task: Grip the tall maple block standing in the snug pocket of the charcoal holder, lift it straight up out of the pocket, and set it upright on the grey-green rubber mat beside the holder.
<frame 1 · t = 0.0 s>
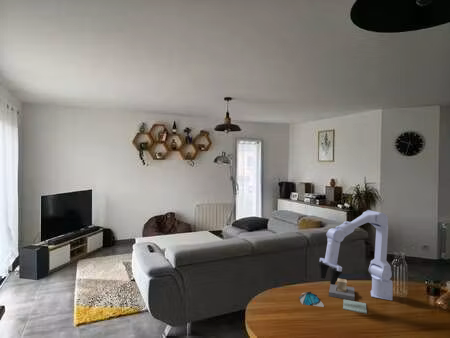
hand: (327, 281, 143), 11 cm above the table, tool pointing down, fingers open, 7 cm apart
decorative butterfly: (310, 303, 143), on the table
rubber mat: (354, 306, 139), on the table
pocket holder: (341, 293, 153), on the table
maple block: (341, 287, 153), in the pocket holder
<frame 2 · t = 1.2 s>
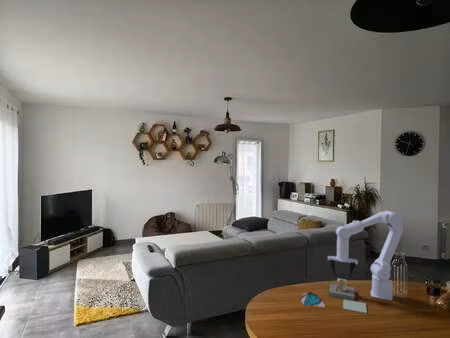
hand: (342, 275, 153), 9 cm above the table, tool pointing down, fingers open, 7 cm apart
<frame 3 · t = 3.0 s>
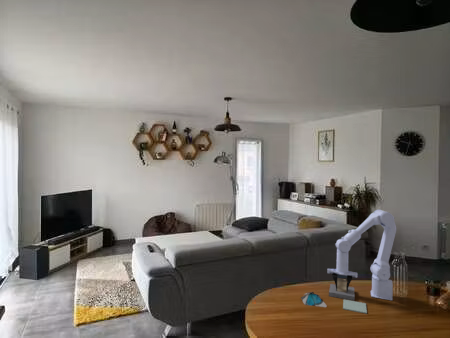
hand: (341, 288, 153), 3 cm above the table, tool pointing down, fingers closed on maple block, 4 cm apart
maple block: (341, 287, 153), in the pocket holder, touching gripper
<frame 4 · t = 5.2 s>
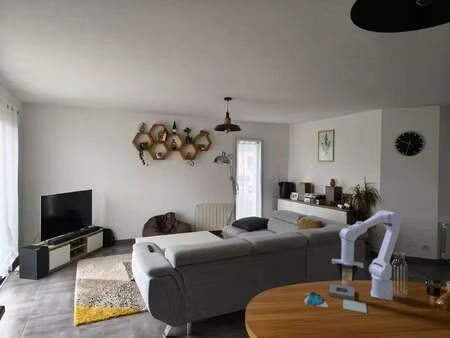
hand: (347, 279, 148), 10 cm above the table, tool pointing down, fingers closed on maple block, 4 cm apart
maple block: (347, 277, 148), point 10 cm above the table, touching gripper
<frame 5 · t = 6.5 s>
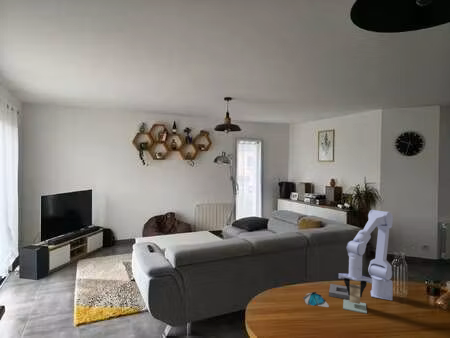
hand: (354, 295, 139), 5 cm above the table, tool pointing down, fingers closed on maple block, 4 cm apart
maple block: (354, 293, 139), point 6 cm above the table, touching gripper
when the fingers open (5 cm above the table, at t = 7.5 s): maple block drops 1 cm, resting on rubber mat.
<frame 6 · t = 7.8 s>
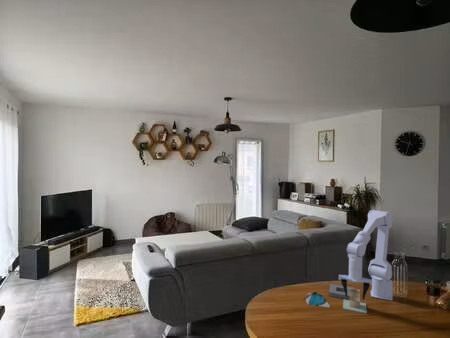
hand: (354, 297, 139), 5 cm above the table, tool pointing down, fingers open, 7 cm apart
maple block: (354, 298, 139), on the rubber mat
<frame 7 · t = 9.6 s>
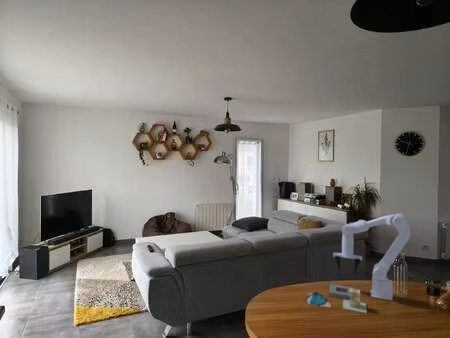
hand: (347, 271, 160), 9 cm above the table, tool pointing down, fingers open, 7 cm apart
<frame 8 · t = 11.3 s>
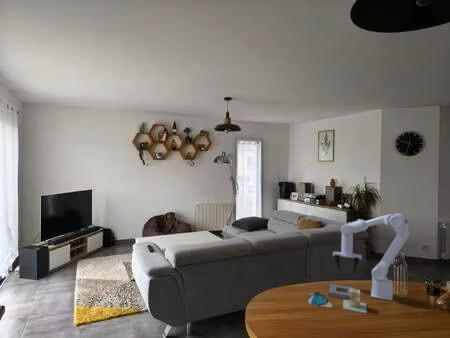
hand: (346, 270, 162), 9 cm above the table, tool pointing down, fingers open, 7 cm apart
at the end: maple block 0.2 cm off-centre on the rubber mat, point 4.0 cm above the rubber mat's base; maple block tilted 0°; the gripper is holding nothing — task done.
